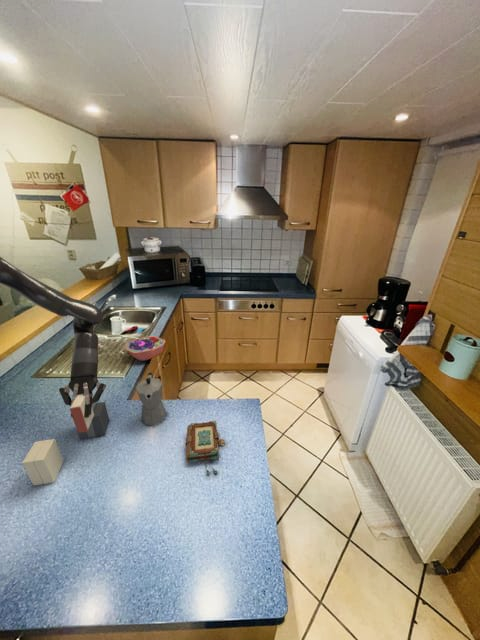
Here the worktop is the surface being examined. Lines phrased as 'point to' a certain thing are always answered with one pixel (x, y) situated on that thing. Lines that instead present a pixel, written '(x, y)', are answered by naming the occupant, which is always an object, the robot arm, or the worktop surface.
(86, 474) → the worktop surface
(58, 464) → the cream box
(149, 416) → the coffeepot
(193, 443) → the decorative book
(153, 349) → the cell model
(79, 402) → the cream red flat block
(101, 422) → the dark grey striped block
